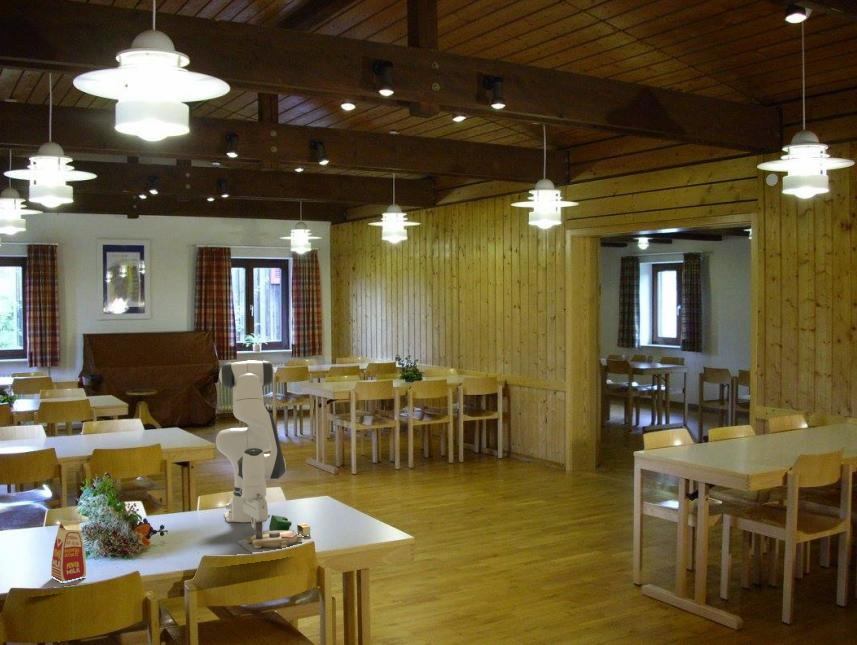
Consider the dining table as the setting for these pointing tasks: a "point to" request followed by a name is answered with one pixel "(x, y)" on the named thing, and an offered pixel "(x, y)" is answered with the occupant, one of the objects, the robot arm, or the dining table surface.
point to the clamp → (279, 523)
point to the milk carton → (68, 552)
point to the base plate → (251, 547)
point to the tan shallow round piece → (273, 538)
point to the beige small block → (303, 529)
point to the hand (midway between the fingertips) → (255, 528)
